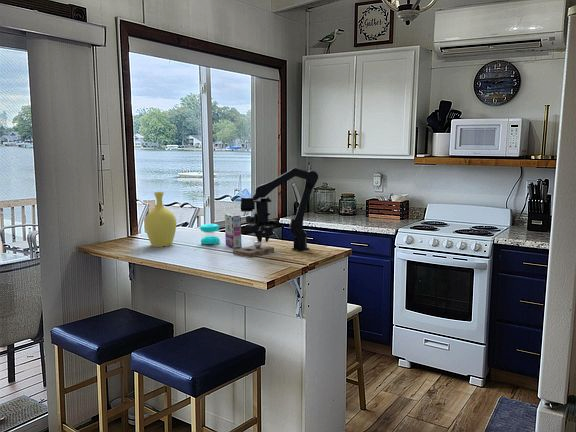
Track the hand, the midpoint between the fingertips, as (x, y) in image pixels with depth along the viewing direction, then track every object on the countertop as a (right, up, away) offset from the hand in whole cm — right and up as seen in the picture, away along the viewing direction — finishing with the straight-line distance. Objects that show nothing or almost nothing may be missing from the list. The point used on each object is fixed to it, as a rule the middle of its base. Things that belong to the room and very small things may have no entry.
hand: (263, 242), depth 245 cm
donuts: (-29, -2, +21) cm, 36 cm away
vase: (-55, -3, +19) cm, 58 cm away
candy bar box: (-16, -3, +12) cm, 20 cm away
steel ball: (-3, -1, -3) cm, 4 cm away
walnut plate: (-4, -5, -5) cm, 8 cm away
